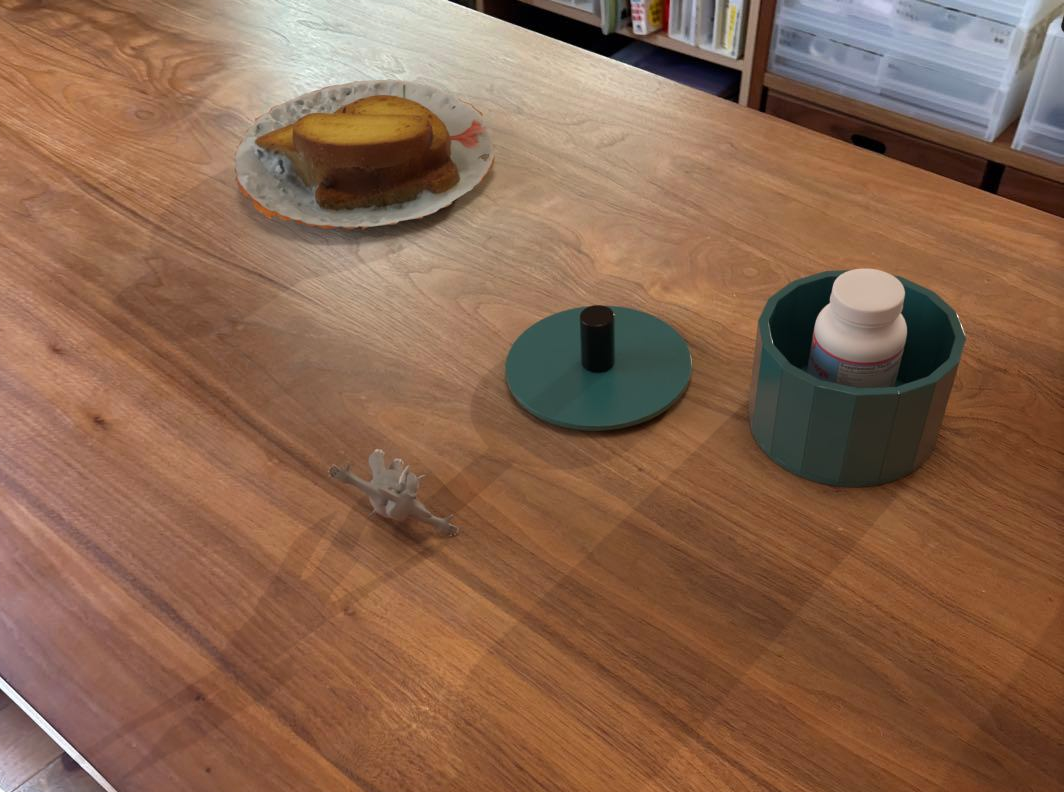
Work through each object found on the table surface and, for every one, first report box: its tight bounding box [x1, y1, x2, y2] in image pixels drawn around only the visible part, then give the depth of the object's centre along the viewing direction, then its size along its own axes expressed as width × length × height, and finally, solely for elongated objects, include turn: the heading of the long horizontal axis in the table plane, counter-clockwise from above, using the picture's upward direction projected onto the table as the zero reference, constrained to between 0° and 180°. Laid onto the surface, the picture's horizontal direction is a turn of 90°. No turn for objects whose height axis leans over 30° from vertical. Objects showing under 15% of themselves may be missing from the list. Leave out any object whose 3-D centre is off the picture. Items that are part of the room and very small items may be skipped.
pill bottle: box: [807, 268, 907, 388], centre depth 77 cm, size 6×6×11 cm
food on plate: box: [234, 78, 496, 231], centre depth 107 cm, size 25×25×7 cm
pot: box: [747, 269, 967, 488], centre depth 78 cm, size 13×13×8 cm
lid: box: [505, 304, 693, 432], centre depth 85 cm, size 14×14×6 cm
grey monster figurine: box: [327, 448, 460, 537], centre depth 76 cm, size 10×6×9 cm
